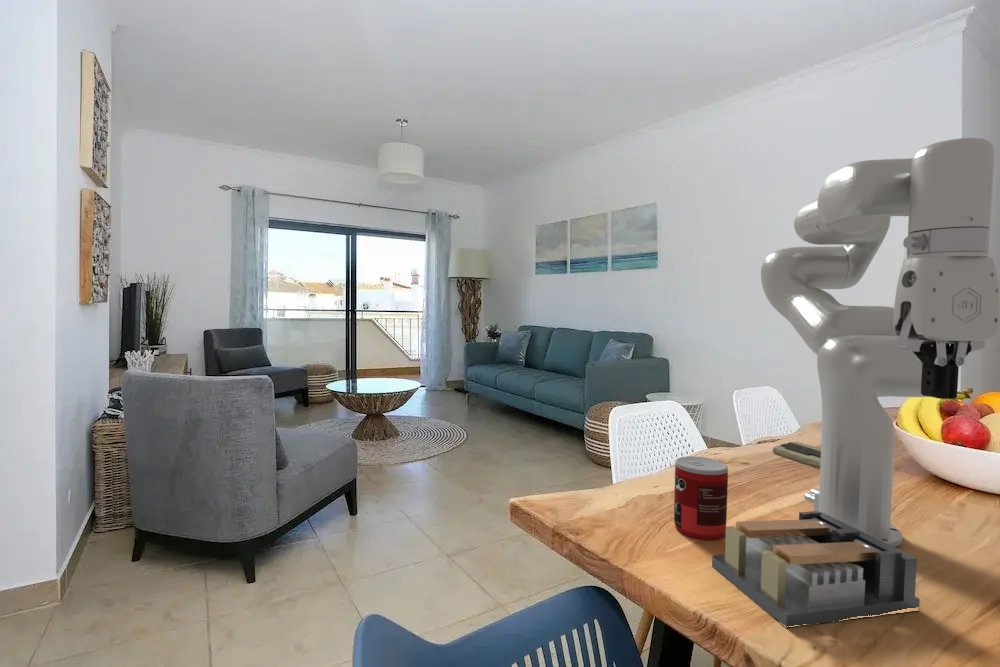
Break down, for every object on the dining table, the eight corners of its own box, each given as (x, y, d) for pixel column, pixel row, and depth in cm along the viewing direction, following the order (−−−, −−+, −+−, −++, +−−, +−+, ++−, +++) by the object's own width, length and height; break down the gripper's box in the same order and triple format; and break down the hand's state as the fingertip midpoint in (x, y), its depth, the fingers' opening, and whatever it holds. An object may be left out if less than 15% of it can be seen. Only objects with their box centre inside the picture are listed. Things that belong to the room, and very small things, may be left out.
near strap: (769, 552, 63) (770, 542, 63) (860, 548, 65) (860, 538, 65) (792, 567, 59) (793, 557, 59) (887, 562, 62) (888, 552, 62)
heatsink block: (711, 566, 71) (713, 516, 71) (823, 555, 75) (825, 508, 74) (786, 628, 58) (788, 567, 57) (919, 611, 61) (921, 553, 61)
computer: (771, 455, 128) (772, 442, 127) (796, 452, 130) (797, 439, 130) (830, 475, 113) (831, 460, 112) (857, 471, 115) (858, 456, 115)
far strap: (733, 528, 70) (734, 519, 70) (816, 525, 72) (817, 516, 72) (752, 540, 66) (752, 531, 66) (839, 537, 69) (839, 528, 69)
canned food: (683, 516, 89) (684, 453, 88) (732, 529, 83) (734, 462, 83) (666, 531, 83) (667, 463, 82) (717, 545, 78) (719, 474, 77)
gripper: (919, 242, 58) (910, 403, 59) (1036, 244, 60) (1026, 401, 61) (864, 249, 65) (858, 392, 66) (970, 251, 67) (962, 391, 68)
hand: (938, 396), depth 63 cm, fingers closed
